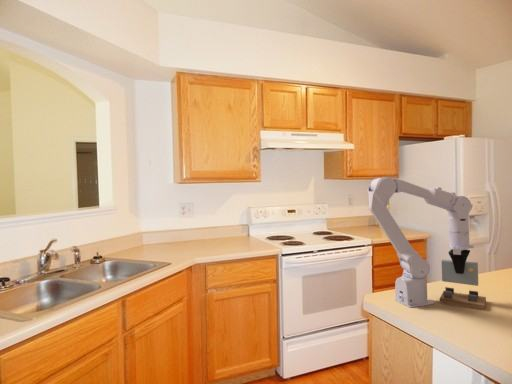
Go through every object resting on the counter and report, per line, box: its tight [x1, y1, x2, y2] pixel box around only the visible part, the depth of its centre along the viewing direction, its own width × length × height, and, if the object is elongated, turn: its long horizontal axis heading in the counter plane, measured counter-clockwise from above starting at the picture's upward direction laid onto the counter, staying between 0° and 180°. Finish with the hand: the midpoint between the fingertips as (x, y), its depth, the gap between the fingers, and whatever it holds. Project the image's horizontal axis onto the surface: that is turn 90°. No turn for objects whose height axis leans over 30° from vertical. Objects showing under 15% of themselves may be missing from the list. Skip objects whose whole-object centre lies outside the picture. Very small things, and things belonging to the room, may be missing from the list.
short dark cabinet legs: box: [442, 286, 479, 302], centre depth 104 cm, size 5×9×2 cm, turn 52°
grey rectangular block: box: [441, 259, 479, 287], centre depth 105 cm, size 3×10×7 cm, turn 52°
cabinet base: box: [439, 291, 487, 311], centre depth 104 cm, size 9×12×2 cm
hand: (460, 272), depth 105 cm, fingers closed on grey rectangular block, 2 cm apart
